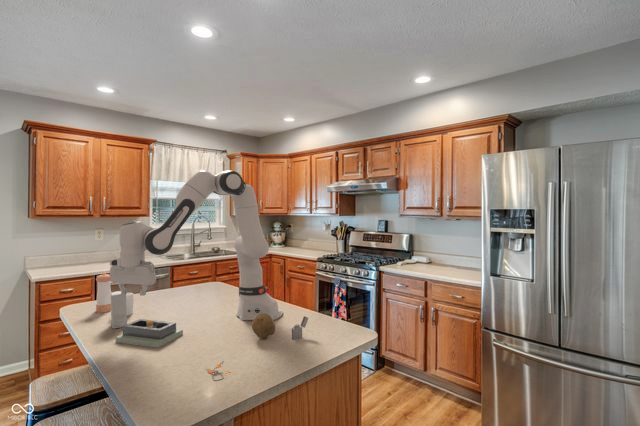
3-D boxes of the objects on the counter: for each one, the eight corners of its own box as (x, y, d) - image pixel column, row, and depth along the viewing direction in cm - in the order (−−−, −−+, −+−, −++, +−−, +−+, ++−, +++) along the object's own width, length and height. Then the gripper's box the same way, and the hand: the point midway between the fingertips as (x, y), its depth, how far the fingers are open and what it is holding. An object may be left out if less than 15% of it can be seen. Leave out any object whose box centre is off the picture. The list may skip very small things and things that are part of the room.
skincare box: (127, 326, 153) (127, 293, 152) (111, 329, 149) (111, 295, 149) (126, 321, 160) (125, 289, 159) (110, 324, 156) (110, 291, 156)
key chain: (234, 377, 107) (234, 374, 107) (210, 383, 104) (210, 380, 104) (225, 361, 118) (225, 359, 118) (203, 366, 115) (203, 363, 115)
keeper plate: (182, 334, 143) (182, 317, 143) (158, 347, 130) (158, 329, 129) (143, 329, 148) (142, 313, 148) (115, 342, 135) (115, 324, 135)
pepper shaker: (107, 312, 173) (106, 274, 173) (92, 312, 173) (92, 274, 173) (115, 308, 181) (115, 271, 180) (102, 308, 181) (101, 271, 180)
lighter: (293, 339, 137) (293, 319, 137) (291, 338, 138) (291, 318, 138) (308, 335, 141) (308, 316, 140) (306, 334, 142) (306, 315, 142)
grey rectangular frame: (176, 331, 141) (176, 322, 141) (160, 339, 132) (160, 330, 132) (140, 327, 146) (140, 319, 146) (122, 335, 137) (122, 326, 137)
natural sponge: (249, 336, 141) (249, 311, 141) (270, 332, 144) (270, 309, 144) (254, 344, 133) (254, 318, 132) (277, 340, 136) (276, 315, 136)
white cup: (111, 316, 168) (111, 295, 167) (126, 311, 175) (126, 292, 175) (123, 318, 165) (123, 297, 164) (137, 313, 172) (137, 293, 172)
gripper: (159, 260, 141) (160, 294, 141) (119, 258, 147) (120, 291, 147) (147, 263, 135) (148, 298, 135) (106, 261, 140) (107, 295, 141)
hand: (133, 294), depth 141 cm, fingers open, 8 cm apart
